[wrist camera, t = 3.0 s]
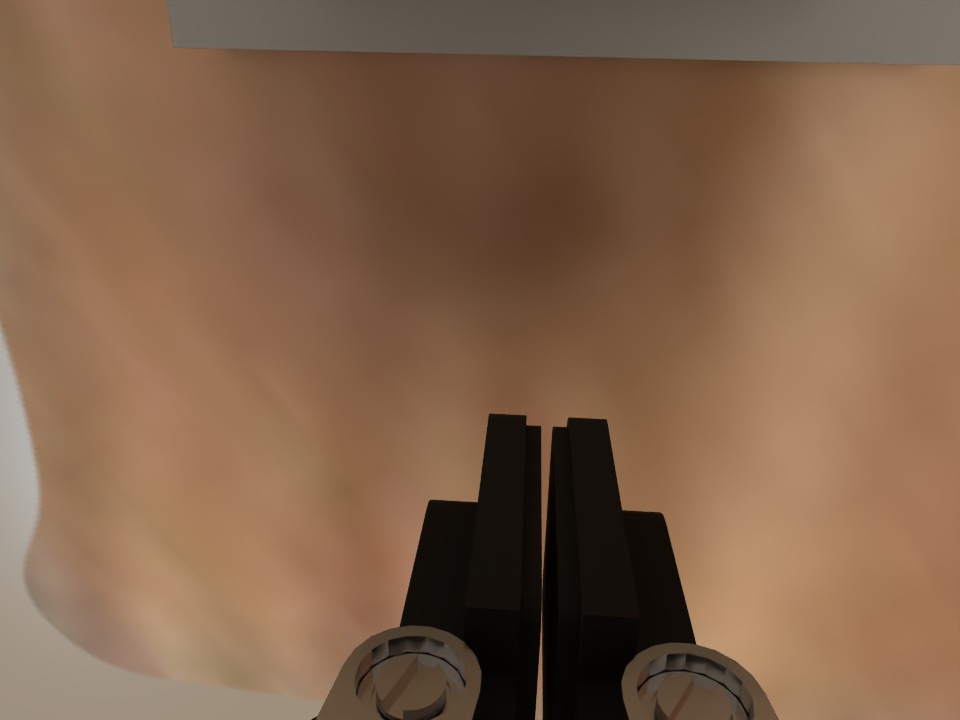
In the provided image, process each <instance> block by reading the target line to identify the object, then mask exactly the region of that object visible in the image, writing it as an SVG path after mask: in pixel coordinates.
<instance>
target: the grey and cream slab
mask: <svg viewBox="0 0 960 720" xmlns="http://www.w3.org/2000/svg"><path fill="white" fill-rule="evenodd" d="M167 5H168V12H169V19H170V26H171V33H172V40H173V47H174V48H212V49H256V50H300V51H344V52H388V53H433V54H477V55H521V56H565V57H609V58H653V59H697V60H741V61H785V62H829V63H873V64H917V65H960V0H167Z"/></svg>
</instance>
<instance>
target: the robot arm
mask: <svg viewBox="0 0 960 720" xmlns="http://www.w3.org/2000/svg"><path fill="white" fill-rule="evenodd" d="M541 609H542V670H543V720H779V719H778V717H777V715H776V713H775V711H774V709H773V708H772V706H771V704H770V702H769V700H768V698H767V696H766V694H765V692H764V691H763V690H762V688H761V687H760V685H759V684H758V683H757V681H756V680H755V678H754V677H753V676H752V675H751V674H750V673H749V672H748V671H747V670H745V669H744V668H743V667H742V666H741V665H739V664H738V663H737V662H736V661H734V660H732V659H731V658H729V657H727V656H725V655H723V654H721V653H719V652H717V651H716V650H712V649H709V648H706V647H702V646H699V645H696V641H695V637H694V633H693V629H692V625H691V621H690V617H689V613H688V609H687V605H686V601H685V597H684V593H683V589H682V585H681V581H680V577H679V573H678V569H677V565H676V561H675V557H674V553H673V549H672V545H671V541H670V537H669V533H668V529H667V525H666V522H665V519H664V516H663V514H662V513H660V512H642V511H624V510H622V507H621V501H620V495H619V489H618V483H617V477H616V471H615V465H614V459H613V453H612V447H611V441H610V435H609V429H608V423H607V420H606V419H588V418H568V421H567V427H553V430H552V444H551V460H550V475H549V491H548V506H547V522H546V537H545V553H544V568H543V587H542V524H541V426H529V425H526V415H506V414H489V418H488V426H487V434H486V442H485V450H484V458H483V466H482V474H481V482H480V489H479V497H478V502H462V501H444V500H430V501H429V503H428V506H427V510H426V514H425V518H424V523H423V527H422V531H421V536H420V540H419V545H418V549H417V553H416V558H415V562H414V566H413V571H412V575H411V579H410V584H409V588H408V593H407V597H406V601H405V606H404V610H403V614H402V619H401V623H400V627H398V628H392V629H388V630H386V631H383V632H381V633H379V634H376V635H374V636H372V637H370V638H369V639H367V640H366V641H365V642H363V643H362V644H361V645H359V646H358V647H357V648H355V649H354V651H353V652H352V654H351V655H350V656H349V658H348V659H347V660H346V662H345V663H344V665H343V667H342V669H341V671H340V673H339V675H338V677H337V679H336V681H335V683H334V685H333V687H332V689H331V691H330V693H329V695H328V697H327V699H326V701H325V703H324V705H323V707H322V709H321V710H320V712H319V714H318V716H317V717H315V718H313V719H312V720H535V711H536V695H537V680H538V665H539V649H540V633H541Z"/></svg>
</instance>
